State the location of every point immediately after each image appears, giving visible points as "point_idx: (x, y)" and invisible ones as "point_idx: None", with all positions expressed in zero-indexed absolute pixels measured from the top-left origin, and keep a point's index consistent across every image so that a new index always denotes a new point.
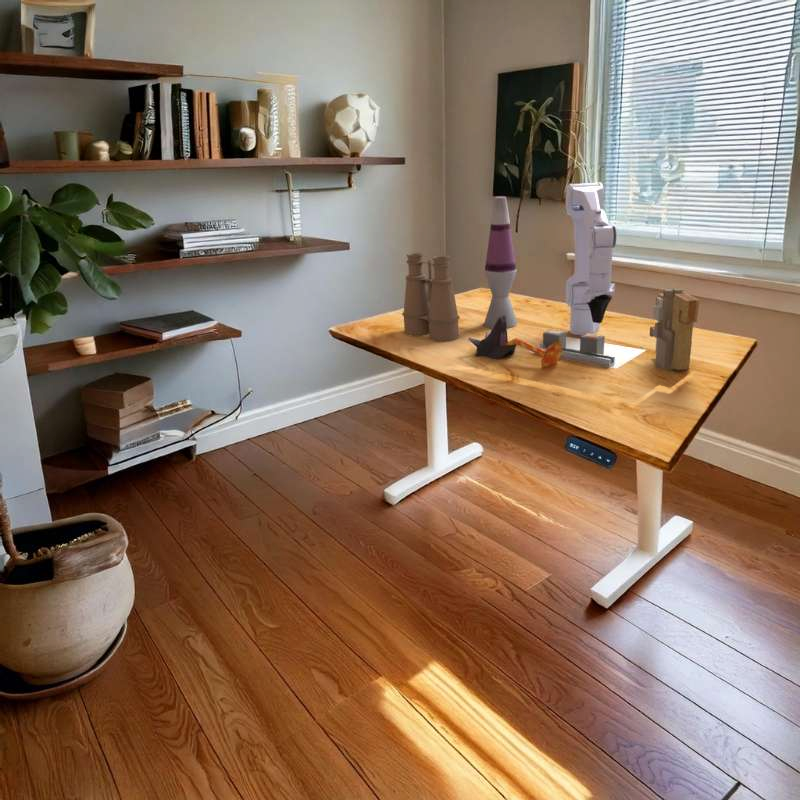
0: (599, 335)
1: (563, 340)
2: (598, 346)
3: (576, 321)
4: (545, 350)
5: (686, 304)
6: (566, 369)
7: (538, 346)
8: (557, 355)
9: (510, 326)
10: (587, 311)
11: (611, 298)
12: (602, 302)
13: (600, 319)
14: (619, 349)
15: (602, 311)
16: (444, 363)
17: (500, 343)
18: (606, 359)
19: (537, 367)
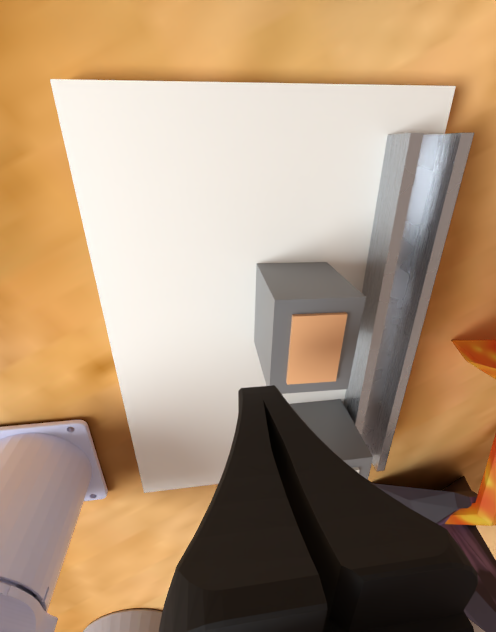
0: (297, 322)
1: (320, 434)
2: (329, 280)
3: (69, 529)
4: None
5: None
6: (451, 300)
7: (383, 461)
8: (473, 362)
9: (141, 613)
10: (4, 564)
11: (196, 579)
12: (452, 540)
13: (285, 400)
14: (150, 231)
15: (302, 447)
16: (487, 535)
17: (466, 531)
18: (468, 153)
19: (458, 380)
